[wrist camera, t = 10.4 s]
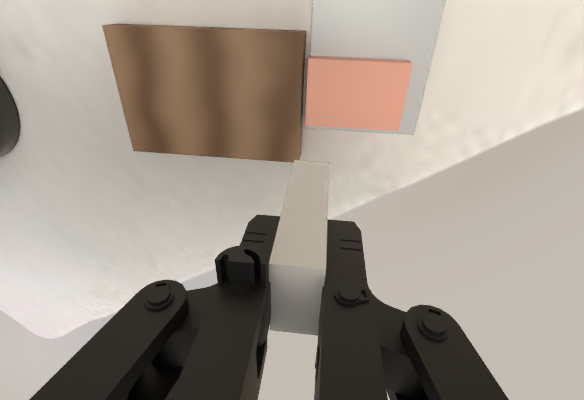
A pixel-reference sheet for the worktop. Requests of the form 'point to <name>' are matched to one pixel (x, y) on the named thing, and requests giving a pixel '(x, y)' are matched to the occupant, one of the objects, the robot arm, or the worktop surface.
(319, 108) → the card
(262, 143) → the deck
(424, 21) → the mat
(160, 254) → the worktop surface
